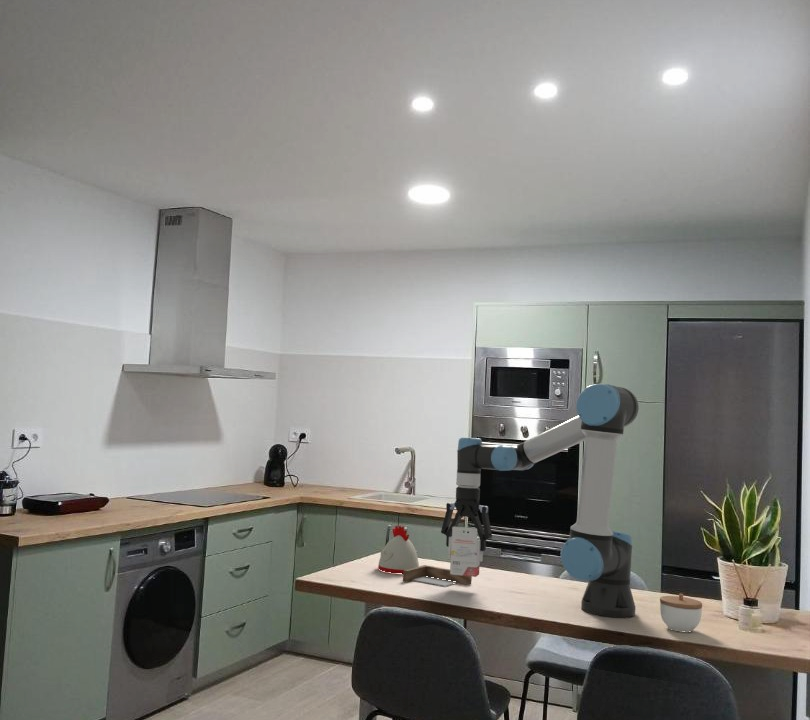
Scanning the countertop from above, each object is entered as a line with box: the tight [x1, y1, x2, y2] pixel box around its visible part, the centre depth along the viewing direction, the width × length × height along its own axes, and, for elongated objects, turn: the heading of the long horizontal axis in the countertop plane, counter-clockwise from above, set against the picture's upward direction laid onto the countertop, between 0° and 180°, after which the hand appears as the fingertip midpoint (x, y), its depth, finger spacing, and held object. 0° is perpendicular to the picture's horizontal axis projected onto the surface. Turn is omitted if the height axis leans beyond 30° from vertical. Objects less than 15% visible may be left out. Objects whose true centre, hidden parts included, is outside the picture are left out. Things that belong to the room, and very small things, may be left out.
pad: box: [412, 576, 458, 587], centre depth 244 cm, size 12×8×1 cm, turn 60°
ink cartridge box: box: [449, 526, 481, 578], centre depth 237 cm, size 9×5×15 cm, turn 73°
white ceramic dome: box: [377, 525, 420, 574], centre depth 260 cm, size 14×14×15 cm
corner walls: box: [402, 564, 473, 585], centre depth 243 cm, size 18×14×4 cm
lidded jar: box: [659, 593, 703, 632], centre depth 204 cm, size 11×11×9 cm
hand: (465, 559), depth 237 cm, fingers closed on ink cartridge box, 9 cm apart
